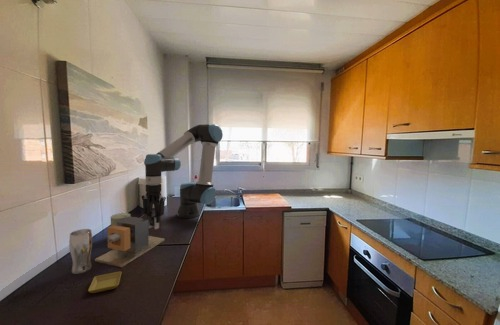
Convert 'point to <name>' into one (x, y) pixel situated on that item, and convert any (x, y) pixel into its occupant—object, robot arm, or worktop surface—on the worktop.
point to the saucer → (105, 282)
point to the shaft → (118, 236)
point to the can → (119, 218)
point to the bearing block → (131, 243)
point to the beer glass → (80, 250)
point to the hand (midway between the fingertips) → (153, 227)
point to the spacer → (125, 238)
